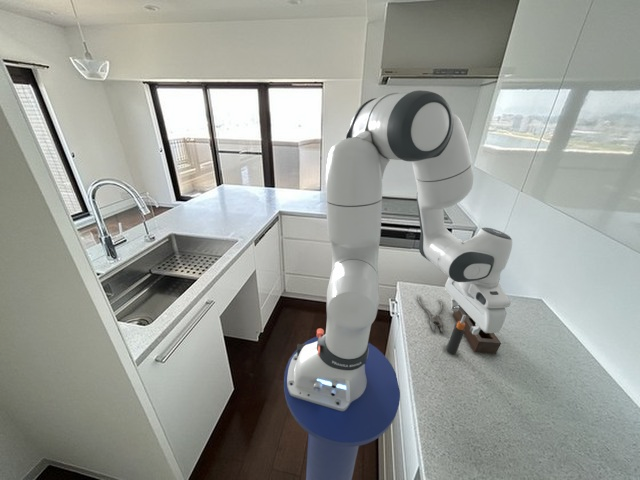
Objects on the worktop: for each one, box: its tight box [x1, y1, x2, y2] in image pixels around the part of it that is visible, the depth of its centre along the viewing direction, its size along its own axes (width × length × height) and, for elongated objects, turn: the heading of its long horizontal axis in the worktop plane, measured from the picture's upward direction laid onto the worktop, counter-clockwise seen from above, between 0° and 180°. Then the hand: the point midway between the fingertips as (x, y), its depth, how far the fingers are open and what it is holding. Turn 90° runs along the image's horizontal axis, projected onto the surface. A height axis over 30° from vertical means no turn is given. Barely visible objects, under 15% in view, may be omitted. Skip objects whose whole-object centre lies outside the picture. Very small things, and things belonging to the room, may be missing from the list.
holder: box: [452, 304, 502, 355], centre depth 90 cm, size 7×18×5 cm, turn 176°
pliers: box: [417, 295, 444, 334], centre depth 99 cm, size 10×1×20 cm
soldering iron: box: [445, 315, 466, 355], centre depth 80 cm, size 3×3×15 cm
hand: (463, 320), depth 78 cm, fingers open, 8 cm apart
